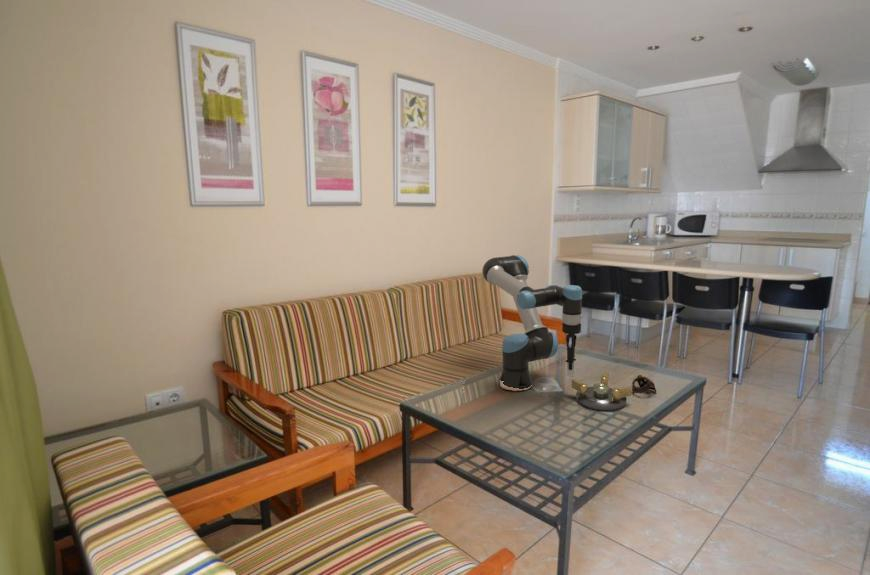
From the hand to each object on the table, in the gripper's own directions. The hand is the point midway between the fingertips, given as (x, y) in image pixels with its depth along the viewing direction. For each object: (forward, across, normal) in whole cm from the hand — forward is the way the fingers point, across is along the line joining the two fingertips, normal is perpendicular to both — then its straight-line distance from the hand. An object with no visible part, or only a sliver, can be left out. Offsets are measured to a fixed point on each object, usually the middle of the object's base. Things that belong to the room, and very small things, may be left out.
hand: (570, 375), depth 202 cm
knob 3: (+7, -3, -20) cm, 22 cm away
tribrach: (+10, 0, -12) cm, 16 cm away
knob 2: (+7, +10, -14) cm, 19 cm away
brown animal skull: (+10, +14, -30) cm, 34 cm away
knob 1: (+7, -1, -4) cm, 8 cm away
